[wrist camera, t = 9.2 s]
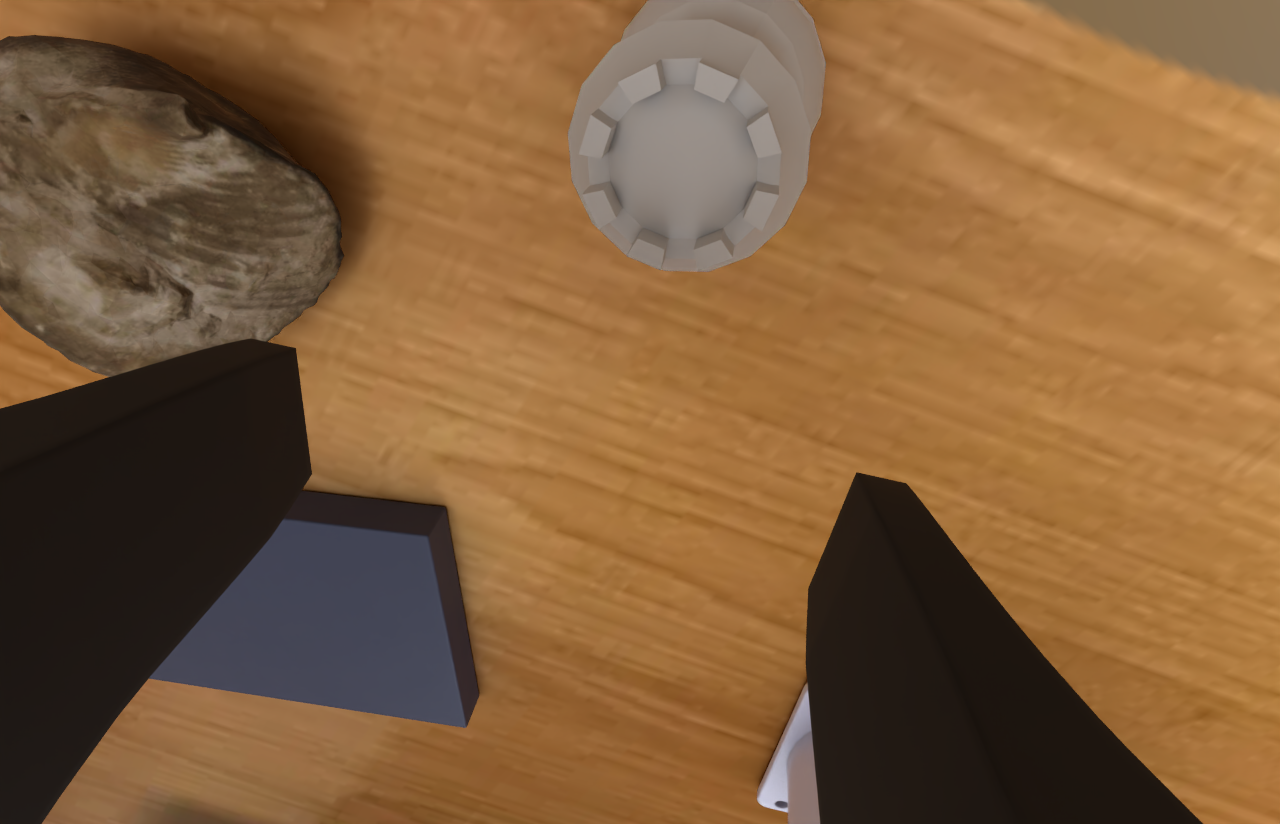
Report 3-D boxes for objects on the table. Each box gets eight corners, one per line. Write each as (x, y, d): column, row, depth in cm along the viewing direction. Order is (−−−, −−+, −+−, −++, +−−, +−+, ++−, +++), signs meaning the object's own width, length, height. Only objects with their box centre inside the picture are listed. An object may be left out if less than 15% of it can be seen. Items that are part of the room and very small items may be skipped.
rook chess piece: (690, -88, 14) (615, -141, 7) (870, 49, 15) (954, 117, 8) (582, 117, 16) (449, 222, 9) (742, 225, 17) (722, 394, 10)
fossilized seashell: (287, 22, 14) (-89, -48, 16) (58, 287, 11) (-360, 160, 13) (419, 267, 20) (144, 196, 22) (297, 470, 18) (-3, 367, 20)
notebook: (446, 506, 23) (427, 536, 22) (480, 695, 29) (466, 728, 27) (73, 463, 25) (36, 489, 24) (170, 649, 30) (144, 678, 29)
